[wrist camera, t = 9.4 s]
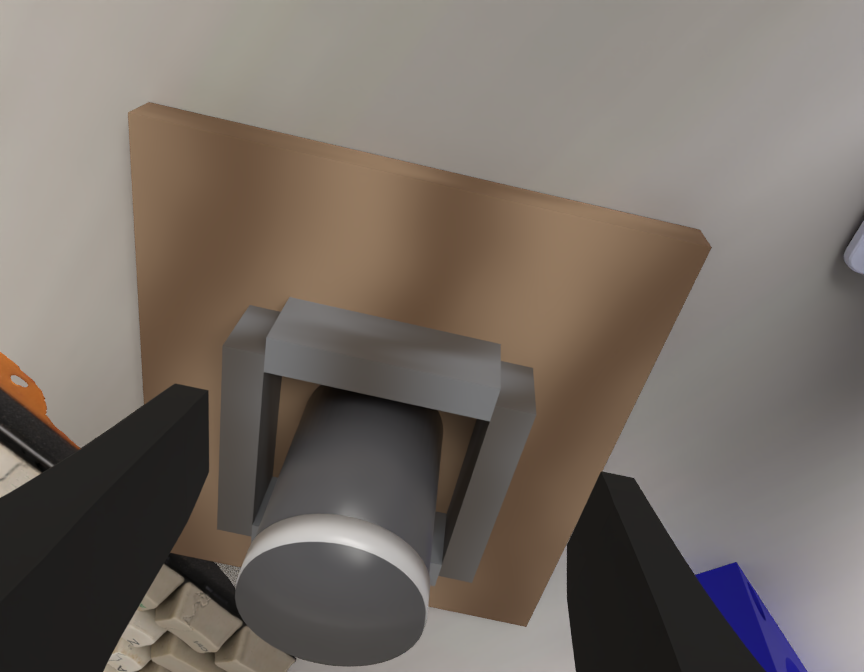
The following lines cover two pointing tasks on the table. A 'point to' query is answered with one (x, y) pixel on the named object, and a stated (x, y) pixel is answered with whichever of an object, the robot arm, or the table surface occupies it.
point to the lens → (347, 533)
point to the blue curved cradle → (750, 618)
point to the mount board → (398, 331)
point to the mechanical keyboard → (174, 584)
